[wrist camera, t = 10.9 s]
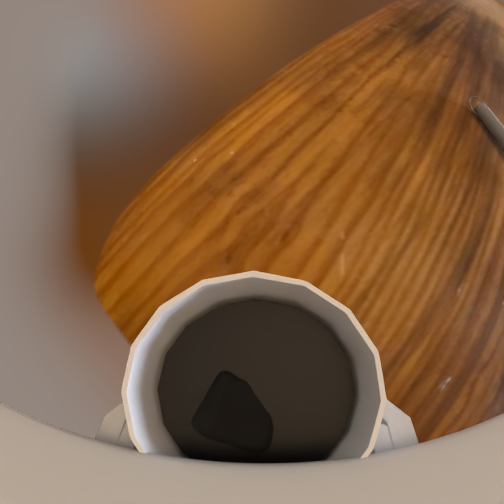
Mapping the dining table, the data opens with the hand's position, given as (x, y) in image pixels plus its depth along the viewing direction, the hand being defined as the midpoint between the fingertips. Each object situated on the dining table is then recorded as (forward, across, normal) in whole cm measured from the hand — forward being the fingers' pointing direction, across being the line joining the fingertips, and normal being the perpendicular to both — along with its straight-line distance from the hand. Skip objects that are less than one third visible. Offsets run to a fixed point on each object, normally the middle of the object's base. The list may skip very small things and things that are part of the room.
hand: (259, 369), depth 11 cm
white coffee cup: (+4, 0, -4) cm, 6 cm away
